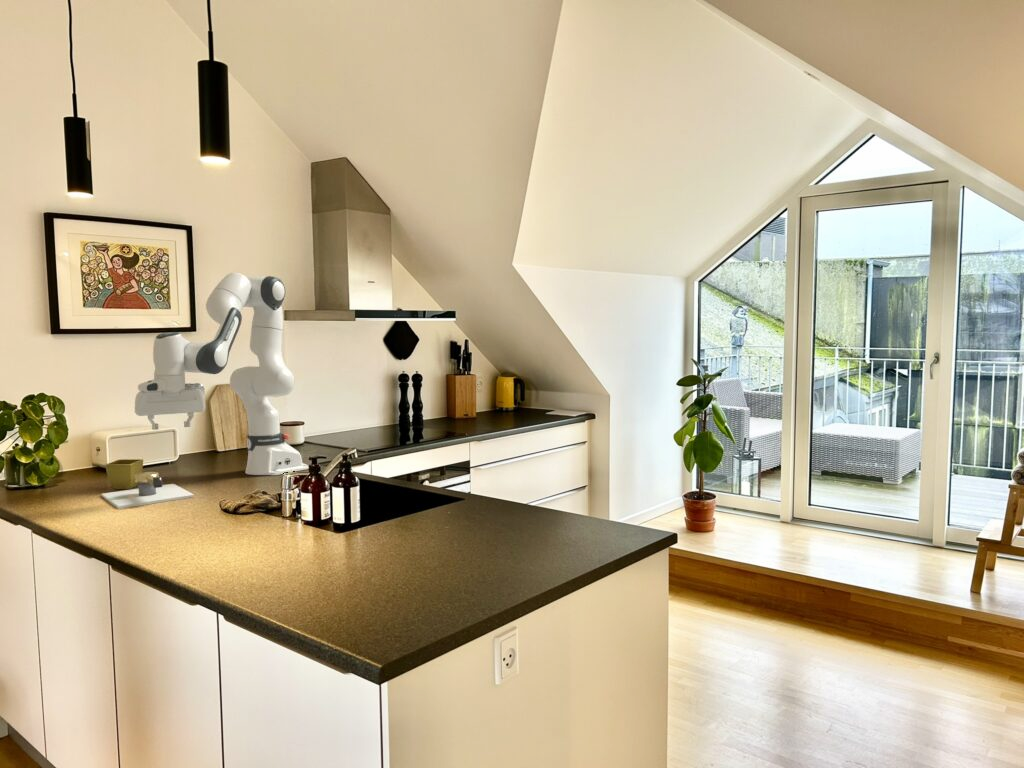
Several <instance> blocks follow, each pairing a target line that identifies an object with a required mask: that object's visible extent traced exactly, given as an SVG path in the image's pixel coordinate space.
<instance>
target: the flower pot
mask: <svg viewBox="0 0 1024 768" xmlns="http://www.w3.org/2000/svg"><path fill="white" fill-rule="evenodd" d="M104 465H105V470H106V476H107V479H108V480H107V481H109V483H110V486H112V487H113V489H114V490H132V489H133V488H134V487H138V483H137V482H135V479H134V475H135V474H138V473H143V467H144V459H143V458H141V459H140V458H139V459H138V458H137V459H135V458H134V459H133V458H132V459H129V458H128V459H125V458H124V459H117V460H114V461H111V462H108V463H106V464H104Z"/></svg>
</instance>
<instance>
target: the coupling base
mask: <svg viewBox="0 0 1024 768" xmlns="http://www.w3.org/2000/svg"><path fill="white" fill-rule="evenodd" d="M137 487H138V488H134V489H133V488H131V489H124V490H120V491H119V490H117V491H111V492H105V493H101V497H102V498H104V499H105V500H106V501H107V502H109V503H110V504H111V505H113V506H114V507H116V508H117V510H118V509H126V508H133V507H139V506H145V505H146V506H147V505H152V504H153V505H154V504H158V503H165V502H166V503H167V502H172V500H173V501H179V500H185V498H186V499H192V498H195V494H194V493H192V492H190V491H188V490H186V489H184V488H183V487H181V486H179V485H177V484H175V483H170V484H169V483H168V484H163V487H159V488H154V487H153V486H152V485H151V484H149V483H138V485H137ZM191 497H192V498H191Z"/></svg>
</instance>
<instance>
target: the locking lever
mask: <svg viewBox="0 0 1024 768" xmlns="http://www.w3.org/2000/svg"><path fill="white" fill-rule="evenodd" d="M159 475H160V474H159V472H157V471H147V472H146V471H145V472H142V473H138V474H135V475H134V479H135V482H137V483H149V484H151V485H152V486H153V487H154V488H159V487H163V485H164V484H163V477H162V476H159Z"/></svg>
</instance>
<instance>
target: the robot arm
mask: <svg viewBox="0 0 1024 768" xmlns="http://www.w3.org/2000/svg"><path fill="white" fill-rule="evenodd" d="M285 297H286V288H285V285H284V283H283V281H282V280H281V279H280V278H278V277H275V276H271V275H269V276H265V275H264V276H263V275H262V276H261V275H253V276H246V275H244V274H242V273H240V272H234V271H233V272H230V273H228V274H226V275H225V276H224V277H223V278H222V279H221V280H220V281H219V282H218V283H217V284H216V286H215V287H214V288H213V290H212V291H211V293H210V294H209V296H208V298H207V299H206V302H205V309H206V312H207V314H208V316H209V318H211V319H212V320H213V321H214V322H216V323H217V324H218V325H219V327H218V329H217V331H216V333H215V336H214V338H213V339H212V340H210V341H206V342H192V341H190V340H188V339H186V338H184V337H183V335H182V333H180V332H177V331H172V332H171V331H170V332H163V333H159V334H157V335H156V336H155V338H154V339H153V340H154V341H153V350H152V351H153V352H152V355H153V356H152V358H153V364H154V372H153V379H151V380H147V381H144V382H142V383H139V384H138V385H137V389H138V393H136V396H135V399H134V413H135V414H136V416H139V417H145V416H147V419H148V421H149V423H150V424H151V429H152V430H153V431H155V430H156V431H157V430H159V423H155V421H154V419H155V416H160V415H162V416H164V415H174V414H175V415H176V414H187V416H188V418H187V419H186V420H184V421H183V427H184V428H190V427H191V422H192V420H193V418H194V416H195V414H194V413H202V412H204V411H205V410H206V402H205V393H206V391H205V387H204V385H203V384H201V383H199V382H195V383H186V373H200V374H201V373H202V374H209V375H218V374H220V373H221V372H222V371H224V369H225V368H226V366H227V364H228V361H229V357H230V356H229V355H230V352H231V350H232V348H233V347H232V346H233V344H234V342H235V339H236V337H237V334H238V332H239V331H240V328H241V325H242V321H243V317H242V313H241V311H242V310H243V308H244V307H245V308H246V307H247V308H253V316H252V321H251V329H250V339H249V350H250V351H251V352H252V353H253V354H254V355H256V356H257V359H258V365H259V366H250V365H249V366H243V367H240V368H236V369H235V370H233V371H232V373H231V375H230V377H229V385H230V388H231V389H232V391H233V392H234V393H235V394H236V395H237V396H238V397H239V399H240V400H241V402H242V404H243V406H244V409H245V412H246V417H247V431H248V434H247V435H246V436H247V437H246V438H247V439H246V446H247V450H248V451H247V453H248V455H247V464H246V469H245V471H244V472H245V474H246V475H249V476H250V475H251V476H278V475H284V474H283V473H284V472H290V473H293V471H295V472H301V471H306V470H308V469H309V464H306V463H304V462H303V459H302V455H301V453H300V452H299V451H298V450H297V449H296V448H294V447H292V446H291V445H290V444H288V443H287V442H286V441H287V440H289V439H290V438H291V436H290V435H289V434H287V433H282V432H281V430H280V412H279V411H278V410H277V408H275V407H274V406H273V405H272V404H271V403H270V401H269V399H268V398H270V397H271V398H279V397H284V396H287V395H290V394H291V393H292V391H293V390H294V387H295V377H294V374H293V373H292V371H291V370H290V369H289V368H288V367H287V365H286V363H285V361H284V358H283V353H282V346H283V345H282V342H283V331H284V314H283V313H284V312H283V307H282V304H283V302H284V300H285ZM285 440H286V441H285Z"/></svg>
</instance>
